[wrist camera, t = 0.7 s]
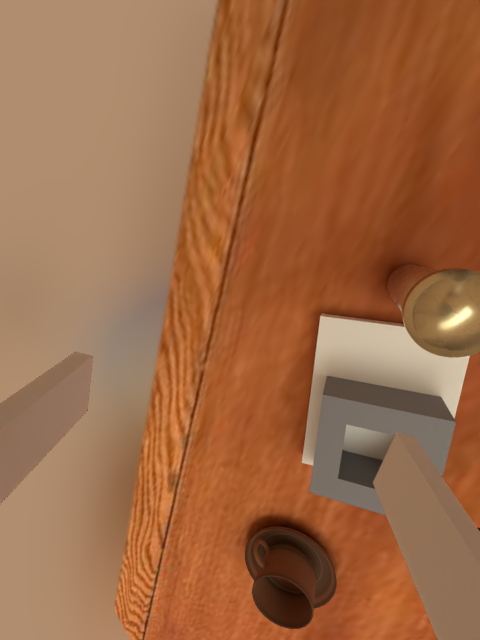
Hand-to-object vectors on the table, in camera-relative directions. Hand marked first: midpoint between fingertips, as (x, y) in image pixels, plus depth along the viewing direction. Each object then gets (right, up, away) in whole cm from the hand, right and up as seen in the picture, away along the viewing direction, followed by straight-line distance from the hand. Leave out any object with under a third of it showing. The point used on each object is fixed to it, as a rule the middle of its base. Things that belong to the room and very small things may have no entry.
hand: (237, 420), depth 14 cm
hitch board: (+15, -5, +22) cm, 27 cm away
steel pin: (+17, +8, +18) cm, 26 cm away
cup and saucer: (+7, -28, +30) cm, 42 cm away
